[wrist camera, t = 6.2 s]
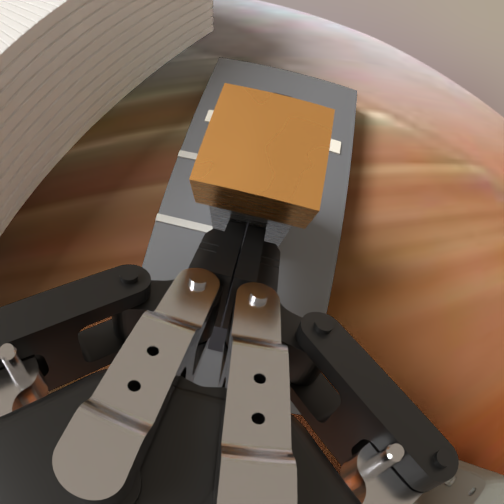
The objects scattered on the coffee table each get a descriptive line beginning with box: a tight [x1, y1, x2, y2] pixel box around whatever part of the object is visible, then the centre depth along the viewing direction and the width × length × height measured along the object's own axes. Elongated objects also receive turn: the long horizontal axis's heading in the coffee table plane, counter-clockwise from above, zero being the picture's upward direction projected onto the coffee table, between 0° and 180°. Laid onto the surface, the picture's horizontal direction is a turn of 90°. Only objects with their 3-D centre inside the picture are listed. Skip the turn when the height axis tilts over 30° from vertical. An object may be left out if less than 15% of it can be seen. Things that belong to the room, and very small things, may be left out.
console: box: [142, 57, 357, 415], centre depth 18 cm, size 10×21×2 cm, turn 167°
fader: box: [189, 83, 335, 248], centre depth 13 cm, size 4×4×8 cm
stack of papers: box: [0, 0, 213, 236], centre depth 15 cm, size 32×11×11 cm, turn 141°
